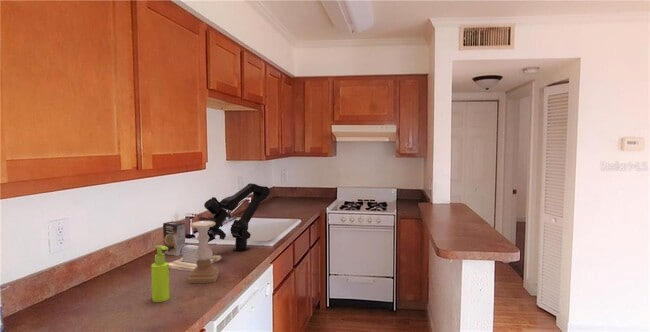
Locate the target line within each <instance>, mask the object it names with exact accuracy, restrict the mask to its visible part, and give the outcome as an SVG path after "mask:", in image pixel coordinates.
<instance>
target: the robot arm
mask: <svg viewBox="0 0 650 332" xmlns="http://www.w3.org/2000/svg"><path fill="white" fill-rule="evenodd" d="M270 193H271V191H270V188H269V187H268V186H265V185H258V184H256V183H248V184H247V185H246V186H244V187H242V188H241V189H240V190H239V191H237V192H235V194H233V195H230V196H227V197H225V198H223V199H221V200H220V201H219V200H218V199H217V198H216V196H215V197H213V196H212V197H211V198H210V199H208V200H207V201H205V202H204V205H203V206H204V208H205V209H206V211H208V212H209V213H210V214H211V215H213V216H212V217H211V216H208V217H204V216H200V217H199V219H198V221H214V222H215V223H216V224H215V225H214V226H212V227H210V228H209V230H208V236H209V237H210V238H209V240H208V242H207V243H209V242H212V241H213V240H216V237H217V236H219V239H220V240H225V239H226V237H227V234H226V232H224V231H223V230H222V227H224V225H223V223H224V222H225V220H226V219H227V218H229V219H230V218H232V217H231V213H230V212H232V211H234V210H235V209H236V208H238V206H239V204H240V202H242V201H243V200H244V199H245V198H247V197H249V196H250V195H251V194H252V199H251V201H250V202H249V204H248V206H247V207H246V209H245V210H244V212H243V213H242V215H241V217H240V218H239V219H235V220H234V221H233V223H232V224H231V225H230V226H231V227H230V229H229V230H230V234H231V236H232V238H235V247H234V248H233V251H241V252H244V251H246V250H248V249H250V246H248V240H249V239H250V238H251V235H252V234H251V233H250V232H249V222H250V221H251V219H252V218H253V216H254V214H255V213H256V211H257V210H258V208H259V206H260V204H261V203H262V202H263V201H265V200H266V199H267V198H268V196H269V195H270ZM228 211H230V212H228ZM220 227H221V228H220ZM193 229H194V230H195V231H196V232H197V233H198V234H199V232H198V230H197V229H196V228H193Z"/></svg>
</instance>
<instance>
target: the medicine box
mask: <svg viewBox="0 0 650 332" xmlns="http://www.w3.org/2000/svg"><path fill="white" fill-rule="evenodd" d="M198 246H199V245H195V244H194V245H192V244H185V246H184V247H182V254H181V256H182V258H183V262H185V263H193V264H196V262H197V261H198V259H196V258H195V251H196V250H197V248H198Z"/></svg>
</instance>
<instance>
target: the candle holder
mask: <svg viewBox="0 0 650 332" xmlns="http://www.w3.org/2000/svg"><path fill="white" fill-rule="evenodd" d="M215 224H216V223H215V222H214V221H199V220H197V221H193V222H191V223H190V227H191V228H192V229H194V228H196V229H197V230H198V232H199V233H198V232H197V233H198V234H197V235H198V236H197V237H196V240H197V241H198V245H197V246H198V248H197V250H196V251H195V258H196V259H198V261H197V262H196V265H197V266H198V267H196V268H195V269H194V270H193V271H192V272H191V273H190V275H189V276H188V278H187V284H213V283H216V281H217V279H218V277H219V275H220V270H219V268H218V267H217V266H212V265H211V260H210V259H209V258H211V257H212V255H214V254H213V250H212V248H211V247H210V246H209V244H208V243H209V242H208V240H209V238H210V237H209V236H208V230H209V228H210V227H212V226H214V225H215ZM207 242H208V243H207Z"/></svg>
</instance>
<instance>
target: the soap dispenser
mask: <svg viewBox="0 0 650 332" xmlns="http://www.w3.org/2000/svg"><path fill="white" fill-rule="evenodd" d="M154 248H155V249H156V252H157V253H156V254H155V255H154V263H152V264H151V265H150V267H151V268H150V269H151V270H150V271H151V273H150V274H151V301H152V302H153V303H163V302H166V301H168V300H169V299H170V271H169V269H170V268H169V263H170V262H167V261H166V256H165V255H166V254H164V252H163V251H164V250H166V249H168V247H166V246H164V244H163V245H161V244H159V245H154Z"/></svg>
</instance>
